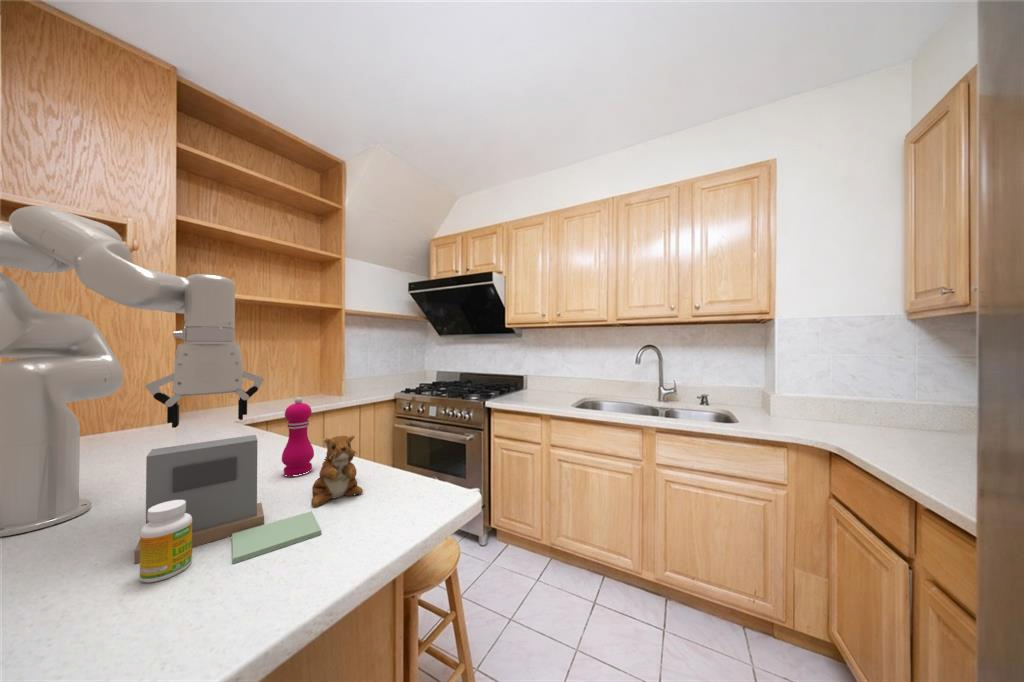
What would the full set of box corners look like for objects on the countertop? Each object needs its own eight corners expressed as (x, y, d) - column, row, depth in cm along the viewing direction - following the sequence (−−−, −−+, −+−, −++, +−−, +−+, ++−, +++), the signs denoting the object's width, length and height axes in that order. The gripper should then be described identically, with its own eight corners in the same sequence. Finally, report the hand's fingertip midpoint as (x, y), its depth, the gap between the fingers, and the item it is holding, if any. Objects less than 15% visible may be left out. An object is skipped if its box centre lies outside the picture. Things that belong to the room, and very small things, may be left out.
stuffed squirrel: (311, 510, 67) (312, 445, 68) (309, 486, 79) (309, 431, 80) (364, 497, 73) (364, 437, 73) (355, 476, 85) (355, 425, 85)
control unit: (134, 564, 51) (135, 459, 51) (143, 543, 56) (144, 449, 56) (264, 526, 61) (264, 440, 61) (261, 512, 67) (261, 432, 67)
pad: (232, 563, 51) (232, 558, 51) (232, 538, 58) (232, 533, 58) (321, 534, 59) (321, 530, 59) (311, 515, 65) (311, 511, 65)
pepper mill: (291, 468, 91) (291, 395, 91) (318, 467, 92) (319, 394, 92) (275, 478, 84) (275, 399, 84) (305, 477, 84) (305, 399, 85)
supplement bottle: (176, 579, 47) (177, 511, 48) (128, 587, 46) (129, 517, 46) (200, 556, 53) (200, 495, 53) (157, 563, 51) (158, 499, 51)
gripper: (142, 336, 58) (141, 433, 58) (265, 337, 69) (264, 419, 69) (150, 337, 64) (149, 426, 63) (262, 338, 75) (262, 413, 75)
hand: (209, 422), depth 66 cm, fingers open, 9 cm apart
